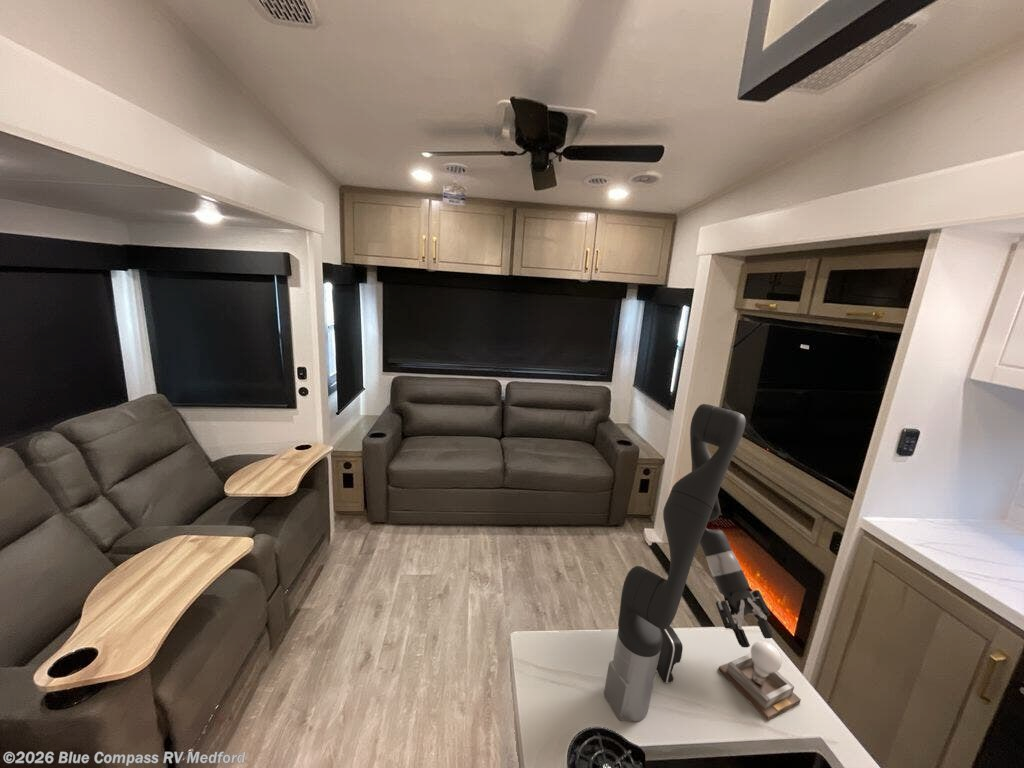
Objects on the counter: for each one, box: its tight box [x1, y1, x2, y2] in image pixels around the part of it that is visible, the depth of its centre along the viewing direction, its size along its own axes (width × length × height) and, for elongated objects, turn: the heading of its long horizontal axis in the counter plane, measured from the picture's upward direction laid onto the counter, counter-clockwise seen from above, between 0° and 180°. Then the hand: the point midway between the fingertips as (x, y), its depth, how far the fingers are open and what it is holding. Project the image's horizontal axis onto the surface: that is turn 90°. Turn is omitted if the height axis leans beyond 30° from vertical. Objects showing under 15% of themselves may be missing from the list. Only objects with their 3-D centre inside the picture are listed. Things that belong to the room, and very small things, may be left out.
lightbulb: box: [750, 640, 783, 685], centre depth 96 cm, size 6×6×11 cm
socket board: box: [717, 652, 802, 721], centre depth 97 cm, size 12×13×4 cm
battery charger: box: [656, 625, 684, 684], centre depth 98 cm, size 7×4×11 cm, turn 7°
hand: (757, 642), depth 97 cm, fingers open, 8 cm apart
